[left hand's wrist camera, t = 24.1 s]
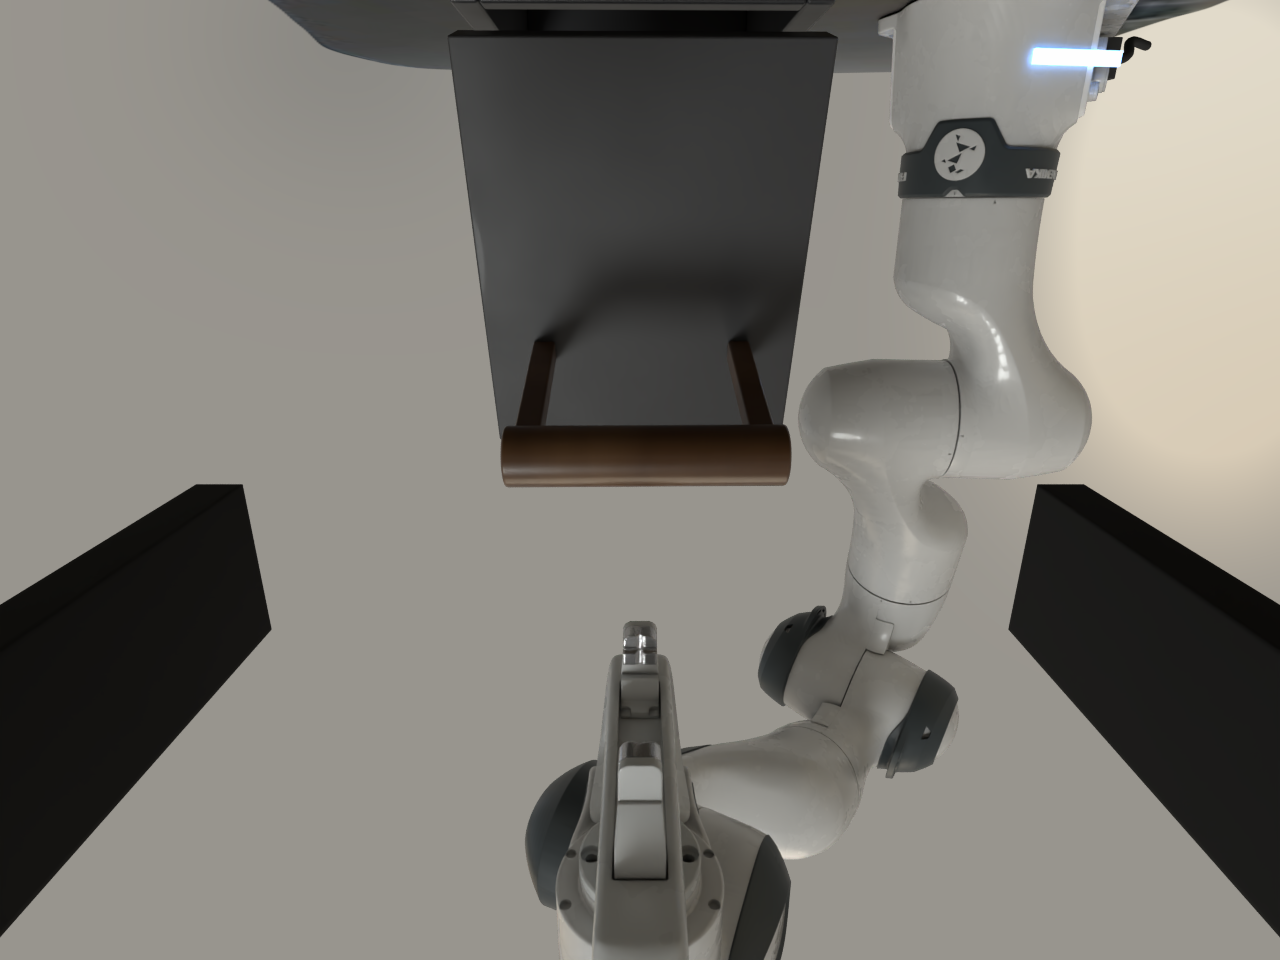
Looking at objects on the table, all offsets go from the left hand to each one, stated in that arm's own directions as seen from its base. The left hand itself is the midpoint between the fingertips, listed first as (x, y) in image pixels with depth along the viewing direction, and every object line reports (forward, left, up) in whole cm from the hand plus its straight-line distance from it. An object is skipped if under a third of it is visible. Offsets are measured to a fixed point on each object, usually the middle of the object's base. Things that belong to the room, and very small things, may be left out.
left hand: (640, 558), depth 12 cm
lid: (+8, +10, -4) cm, 14 cm away
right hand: (+11, +14, +15) cm, 23 cm away
